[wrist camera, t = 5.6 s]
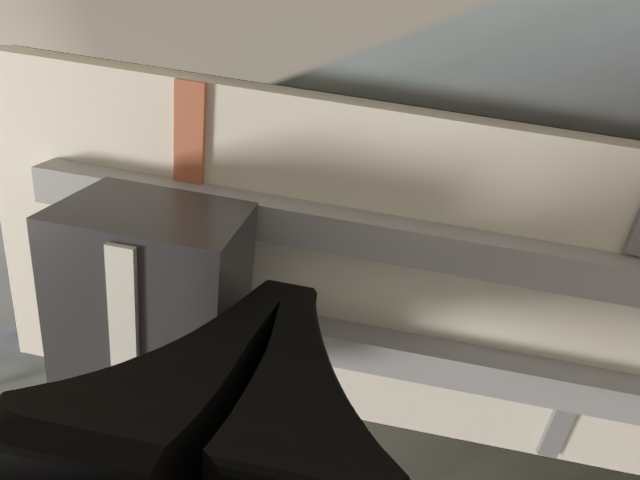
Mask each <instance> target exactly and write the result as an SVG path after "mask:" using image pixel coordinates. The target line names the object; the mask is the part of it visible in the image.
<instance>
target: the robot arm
mask: <svg viewBox="0 0 640 480" xmlns="http://www.w3.org/2000/svg"><path fill="white" fill-rule="evenodd" d="M316 300H317V292H316V290H315V289H314V288H311V287H306V286H300V285H295V284H289V283H284V282H278V281H273V280H266V281H265V282H263V283H262V284H261V285H259V286H258V287H257V288H255V289H254V290H253V291H251V292H250V293H249V294H248V295H246V296H245V297H244V298H242V299H241V300H240V301H238V302H237V303H235V304H234V305H233V306H231V307H230V308H228V309H227V310H226V311H224V312H223V313H221V314H220V315H218V316H217V317H215V318H214V319H212V320H211V321H209V322H207V323H206V324H204V325H202V326H201V327H199V328H198V329H196V330H194V331H192V332H191V333H189V334H187V335H185V336H183V337H181V338H179V339H177V340H175V341H173V342H171V343H169V344H167V345H165V346H162V347H160V348H158V349H156V350H153V351H151V352H148V353H145V354H143V355H140V356H138V357H135V358H132V359H130V360H127V361H125V362H122V363H119V364H116V365H113V366H110V367H107V368H104V369H100V370H97V371H94V372H90V373H87V374H83V375H79V376H76V377H72V378H68V379H64V380H60V381H55V382H50V383H45V384H41V385H36V386H31V387H26V388H21V389H17V390H11V391H5V392H3V393H2V394H1V395H0V480H410V478H409V476H408V475H407V474H406V473H405V472H404V471H403V470H402V468H401V467H400V466H399V465H398V464H397V463H396V462H395V461H394V460H393V459H392V458H391V457H390V456H389V455H388V454H387V452H386V451H385V450H384V449H383V448H382V447H381V446H380V445H379V443H378V442H377V441H376V440H375V438H374V437H373V436H372V434H371V433H370V432H369V431H368V429H367V428H366V426H365V425H364V423H363V421H362V420H361V418H360V417H359V415H358V414H357V412H356V411H355V409H354V408H353V406H352V405H351V403H350V401H349V400H348V398H347V396H346V394H345V392H344V390H343V389H342V387H341V385H340V383H339V381H338V378H337V376H336V374H335V372H334V370H333V367H332V365H331V362H330V360H329V357H328V354H327V351H326V348H325V345H324V342H323V339H322V335H321V331H320V327H319V322H318V317H317V309H316Z"/></svg>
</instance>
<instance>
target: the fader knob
mask: <svg viewBox="0 0 640 480" xmlns="http://www.w3.org/2000/svg"><path fill="white" fill-rule="evenodd" d="M258 204H259V203H258V202H253V201H247V200H241V199H235V198H229V197H223V196H217V195H211V194H206V193H200V192H194V191H188V190H182V189H176V188H170V187H164V186H159V185H153V184H147V183H141V182H135V181H129V180H123V179H117V178H112V177H104V178H102V179H100V180H99V181H97V182H95V183H93V184H91V185H89V186H87V187H85V188H83V189H81V190H79V191H77V192H75V193H73V194H71V195H70V196H68V197H66V198H64V199H62V200H60V201H58V202H56V203H54V204H52V205H50V206H48V207H46V208H44V209H42V210H40V211H39V212H37V213H35V214H33V215H31V216H29V217H27V218H26V222H27V230H28V237H29V245H30V253H31V260H32V268H33V276H34V284H35V291H36V299H37V307H38V314H39V322H40V330H41V337H42V345H43V353H44V361H45V368H46V376H47V383H50V382H55V381H60V380H64V379H68V378H72V377H76V376H79V375H83V374H87V373H90V372H94V371H97V370H100V369H104V368H107V367H110V366H113V365H116V364H119V363H122V362H125V361H127V360H130V359H132V358H135V357H138V356H140V355H143V354H145V353H148V352H151V351H153V350H156V349H158V348H160V347H162V346H165V345H167V344H169V343H171V342H173V341H175V340H177V339H179V338H181V337H183V336H185V335H187V334H189V333H191V332H192V331H194V330H196V329H198V328H199V327H201V326H202V325H204V324H206V323H207V322H209V321H211V320H212V319H214V318H215V317H217V316H218V315H220V314H221V313H223V312H224V311H226V310H227V309H228V308H230V307H231V306H233V305H234V304H235V303H237V302H238V301H240V300H241V299H242V298H244V297H245V296H246V295H248V294H249V293H250V292H251V289H252V277H253V265H254V252H255V240H256V228H257V216H258Z"/></svg>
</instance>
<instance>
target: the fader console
mask: <svg viewBox="0 0 640 480" xmlns="http://www.w3.org/2000/svg"><path fill="white" fill-rule="evenodd" d="M104 177H112V178H117V179H123V180H129V181H135V182H141V183H147V184H153V185H159V186H164V187H170V188H176V189H182V190H188V191H194V192H200V193H206V194H211V195H217V196H223V197H229V198H235V199H241V200H247V201H253V202H258V203H259V204H258V216H257V228H256V240H255V252H254V265H253V277H252V289H251V291H253V290H254V289H255V288H257V287H258V286H259V285H261V284H262V283H263V282H265V281H266V280H273V281H278V282H284V283H289V284H295V285H300V286H306V287H311V288H314V289H315V290H316V292H317V300H316V309H317V317H318V322H319V327H320V331H321V335H322V339H323V342H324V345H325V348H326V351H327V354H328V357H329V360H330V362H331V365H332V367H333V370H334V372H335V374H336V376H337V378H338V381H339V383H340V385H341V387H342V389H343V390H344V392H345V394H346V396H347V398H348V400H349V401H350V403H351V405H352V406H353V408H354V409H355V411H356V412H357V414H358V415H359V417H360V418H361V420H366V421H371V422H376V423H381V424H386V425H391V426H396V427H401V428H406V429H411V430H416V431H421V432H426V433H431V434H436V435H441V436H446V437H451V438H456V439H461V440H466V441H471V442H476V443H481V444H486V445H491V446H496V447H501V448H506V449H511V450H516V451H521V452H526V453H532V454H537V455H542V456H547V457H552V458H557V459H562V460H567V461H572V462H577V463H582V464H587V465H592V466H597V467H602V468H607V469H612V470H617V471H622V472H627V473H632V474H637V475H640V141H639V140H632V139H626V138H619V137H613V136H606V135H600V134H593V133H587V132H580V131H574V130H567V129H560V128H554V127H547V126H541V125H534V124H528V123H521V122H515V121H508V120H502V119H495V118H488V117H482V116H475V115H469V114H462V113H456V112H449V111H443V110H436V109H430V108H423V107H416V106H410V105H403V104H397V103H390V102H384V101H377V100H371V99H364V98H358V97H351V96H344V95H338V94H331V93H325V92H318V91H312V90H305V89H299V88H292V87H286V86H279V85H272V84H266V83H259V82H253V81H246V80H240V79H233V78H227V77H220V76H214V75H207V74H200V73H194V72H187V71H181V70H174V69H168V68H161V67H155V66H148V65H141V64H134V63H128V62H122V61H115V60H109V59H102V58H95V57H89V56H82V55H76V54H69V53H63V52H56V51H50V50H43V49H37V48H29V47H24V46H17V45H0V221H1V228H2V234H3V241H4V247H5V254H6V261H7V267H8V274H9V280H10V287H11V293H12V300H13V306H14V313H15V319H16V326H17V332H18V339H19V345H20V352H24V353H29V354H34V355H39V356H44V353H43V345H42V337H41V330H40V322H39V314H38V307H37V299H36V291H35V284H34V276H33V268H32V260H31V253H30V245H29V237H28V230H27V222H26V218H27V217H29V216H31V215H33V214H35V213H37V212H39V211H40V210H42V209H44V208H46V207H48V206H50V205H52V204H54V203H56V202H58V201H60V200H62V199H64V198H66V197H68V196H70V195H71V194H73V193H75V192H77V191H79V190H81V189H83V188H85V187H87V186H89V185H91V184H93V183H95V182H97V181H99V180H100V179H102V178H104Z"/></svg>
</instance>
